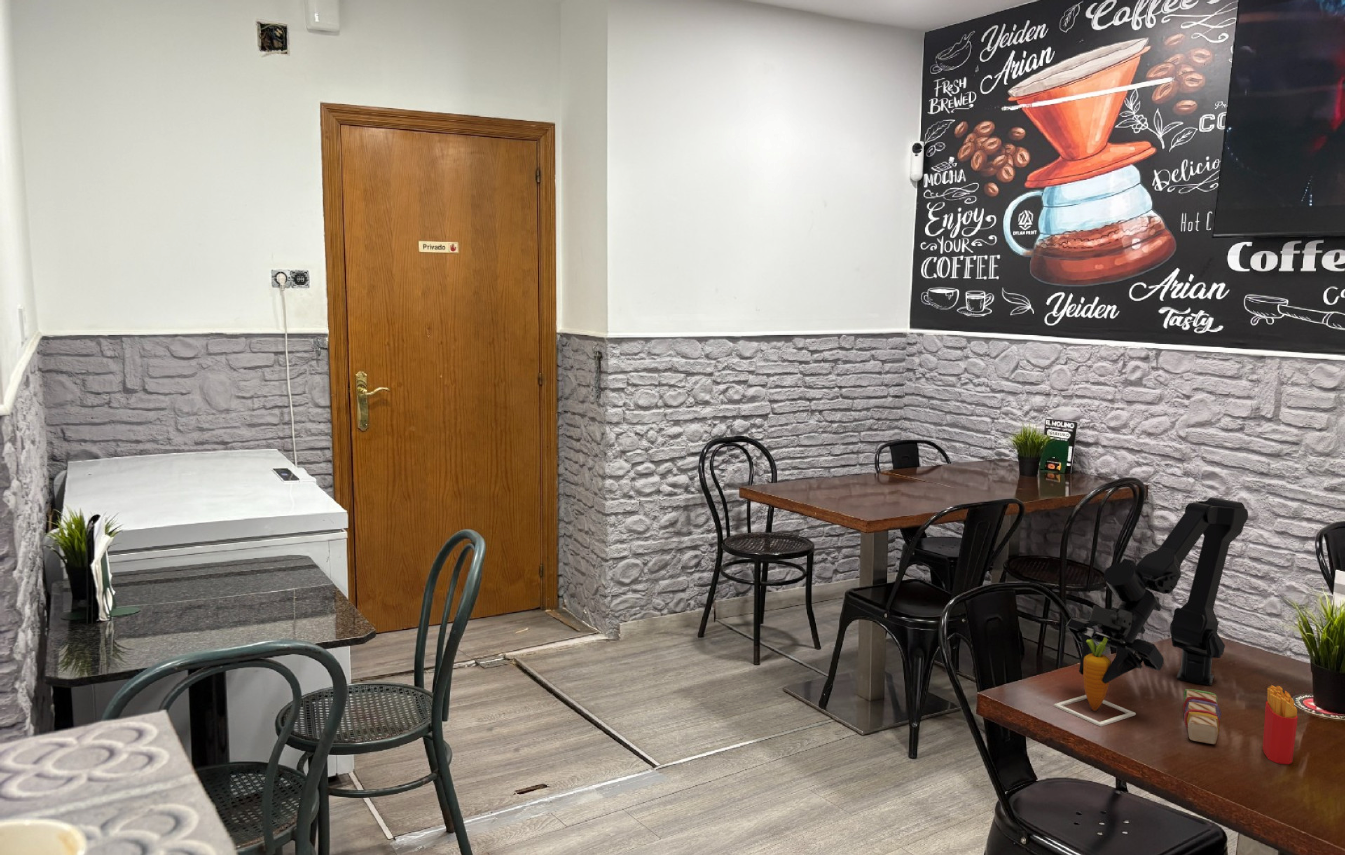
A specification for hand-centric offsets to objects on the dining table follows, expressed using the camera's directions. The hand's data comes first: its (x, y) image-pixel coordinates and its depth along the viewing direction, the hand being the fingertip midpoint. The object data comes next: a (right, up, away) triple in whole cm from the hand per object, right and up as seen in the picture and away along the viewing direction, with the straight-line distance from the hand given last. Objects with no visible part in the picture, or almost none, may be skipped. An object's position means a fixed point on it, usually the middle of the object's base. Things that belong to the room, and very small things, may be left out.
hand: (1091, 677), depth 188 cm
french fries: (+26, -10, -17) cm, 32 cm away
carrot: (+1, -7, +2) cm, 7 cm away
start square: (+1, -7, +2) cm, 7 cm away
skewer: (+19, -8, -4) cm, 21 cm away
